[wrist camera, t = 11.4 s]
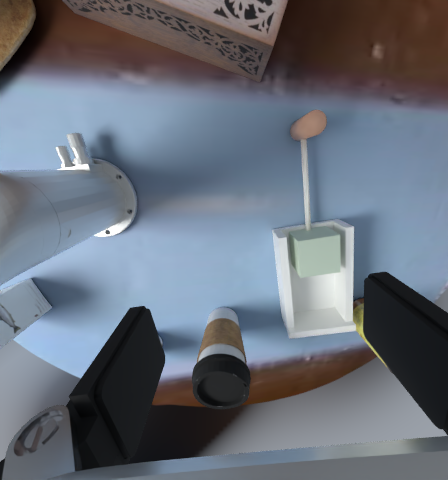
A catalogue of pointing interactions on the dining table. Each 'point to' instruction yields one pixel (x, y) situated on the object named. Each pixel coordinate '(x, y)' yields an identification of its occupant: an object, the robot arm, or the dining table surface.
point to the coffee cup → (221, 363)
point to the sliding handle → (310, 239)
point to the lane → (316, 287)
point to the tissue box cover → (198, 27)
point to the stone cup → (14, 26)
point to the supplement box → (20, 309)
